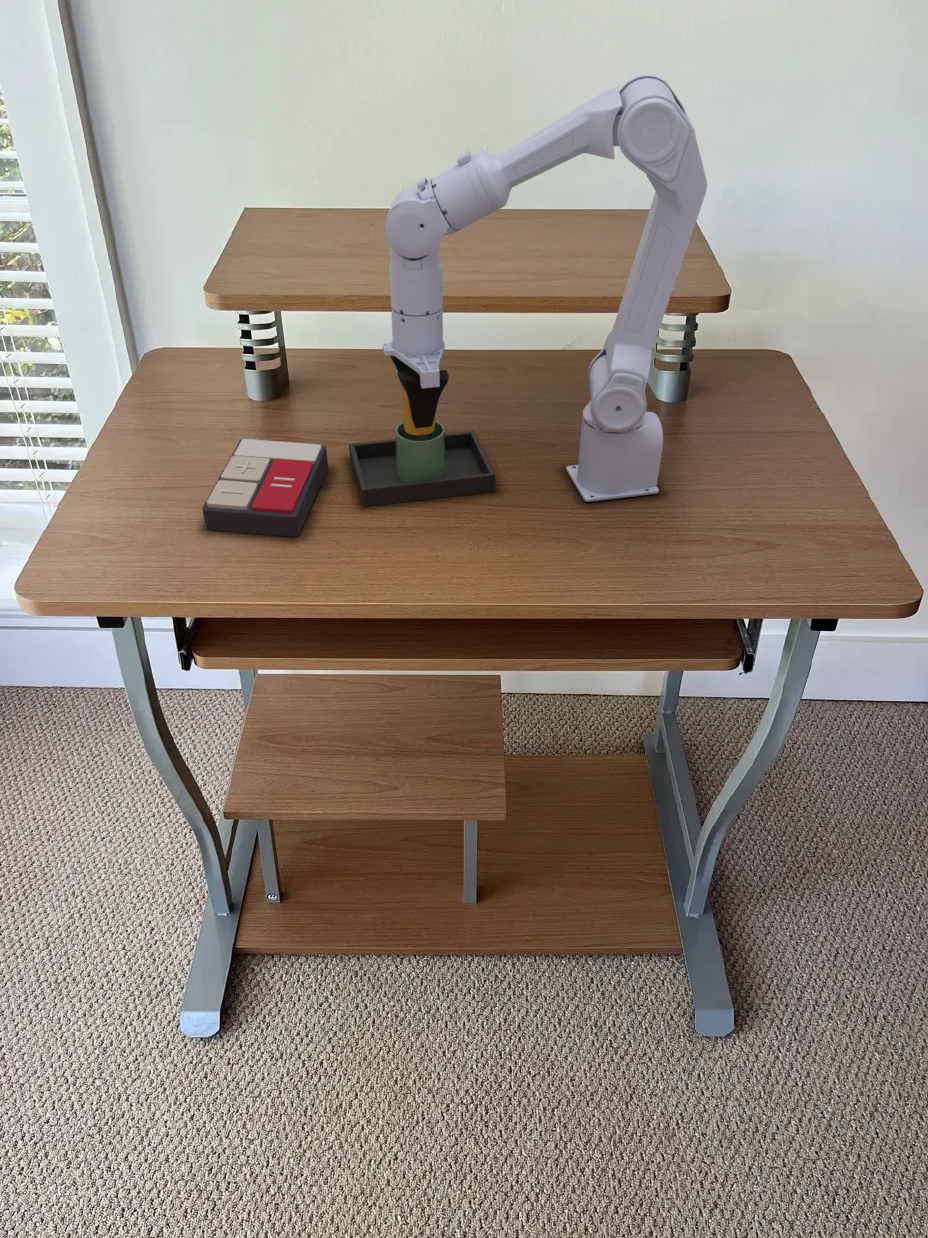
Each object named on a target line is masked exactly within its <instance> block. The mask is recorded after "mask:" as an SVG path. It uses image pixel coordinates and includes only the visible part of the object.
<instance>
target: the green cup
mask: <svg viewBox="0 0 928 1238" xmlns="http://www.w3.org/2000/svg"><path fill="white" fill-rule="evenodd" d="M445 434H446V430H445V427H444V425H443V424H442V423H440V422H439V421H438V420H435V429H434V431H433V432H432V433H430V434H427V435H412V434H409V433H407V432H406V431H405V430H404V420H403V421H401V422H400V423H399V424H397V425H396V427H395V429H394V439H395V442H396V467H397V475H398V477H399V479H401V480H402V481H403V482H414V481H423V480H432V479H441V478H443V476H444V474H445Z"/></svg>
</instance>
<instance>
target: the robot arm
mask: <svg viewBox="0 0 928 1238" xmlns="http://www.w3.org/2000/svg"><path fill="white" fill-rule="evenodd" d="M614 147H619V149H620V151H621V154H623V155H624V156H623V157H625V158H626V159H627V160H628V161H629V162H631V164H632V165H634V166H635V167H636V168H638V169H639V170H640V171H642V172H643V173H644V174H645V175H646V177H647V179H648V181H649V182H650V183H651V186H652V187H653V190H654V191H655V192H654V195H653V199H652V200H651V201H652V202H651V205H650V207H649V211H648V214H647V218H646V220H645V224H644V227H643V230H642V233H641V237H640V240H639V243H638V246H637V249H636V253H635V257H634V260H633V263H632V265H631V269H630V272H629V276H628V279H627V282H626V285H625V289H624V291H623V295H622V298H621V301H620V305H619V308H618V311H617V314H616V317H615V321H614V324H613V326H612V330H611V331H610V332H609V333H608V335H607V336H606V338H605V340H604V343H603V347H602V348H601V350H600V351H599V352H598V354H597V355H596V356H595V357H593V359H592V360H591V362H590V364H589V366H588V369H587V382H588V385H589V394H590V400H589V402H588V403H586V405H585V407H584V408H583V410H582V416H581V427H580V428H581V429H580V440H579V447H578V448H579V450H578V461H577V464H573V465H567V466H566V468H565V471H566V472H567V475H568V476H569V477H570V479H571V481H572V482H573V484H574V486H575V487H576V489H577V491H578V493H579V495H580V496H581V498H582V499H583V501H584V502H586V503H590V502H599V501H607V500H616V499H623V498H624V499H625V498H631V497H632V498H633V497H641V496H649V495H657V494H659V493H660V492H659V491H660V489H659V487H658V479H659V475H660V467H661V462H662V461H661V460H662V453H663V447H664V432H663V426H662V422H661V420H660V418H659V416H658V415H657V413H655V412H653V411H647V408H648V402H647V397H646V387H647V384H648V381H649V378H650V371H651V370H650V369H651V363H652V362H651V361H652V353H653V349H654V345H655V343H656V340H657V337H658V334H659V332H660V328H661V325H662V323H663V319H664V317H665V314H666V311H667V307H668V305H669V302H670V299H671V296H672V293H673V291H674V288H675V285H676V281H677V278H678V275H679V274H680V270H681V267H682V265H683V262H684V258H685V255H686V253H687V249H688V247H689V244H690V240H691V238H692V235H693V232H694V229H695V226H696V223H697V221H698V217H699V215H700V211H701V209H702V206H703V203H704V199H705V197H706V194H707V189H708V179H707V175H706V172H705V168H704V164H703V161H702V157H701V153H700V148H699V144H698V141H697V135H696V130H695V128H694V125H693V124H692V123H691V121H690V119H689V116H688V113H687V111H686V109H685V107H684V104H683V103H682V102H681V100H680V99H679V98H678V95H676V93H675V91H674V90H673V89H672V87H671V86H670V85H669V84H668V82H667V81H666V80H664V79H663V78H661V77H659V76H656V75H652V74H643V75H642V74H641V75H637V76H635V77H633V78H631V79H629V80H628V81H627V82H625V83H624V84H623V85H622V87H621V88H620V89H619V87H618V86H615V87H611V88H609V89H607V90H603V92H601V93H599V94H597V95H596V96H594V97H592V98H591V99H589V100H588V101H586V102H584V103H582V104H581V105H579V106H577V107H575V108H574V109H573V110H571V111H569V112H568V113H566V114H565V115H563V116H562V117H560V118H558V119H557V120H555V121H553V122H552V123H550V124H548V125H547V126H544V128H542V129H540V130H539V131H537V132H536V133H533V134H532V135H530V136H529V137H528V138H526V139H524V140H522V141H521V142H519V143H518V144H516V145H514V146H512V147H511V148H509V149H508V150H506V151H505V152H503V153H501V154H499V155H498V154H494V153H490V152H486V151H484V150H480V151H478V152H476V153H475V154H471V152H470V151H468V150H466V151H465V152H463V153H461V154H459V155H458V156H457V159H456V163H457V164H455V165H453V166H452V167H450V168H448V169H447V170H445V171H443V172H441V173H439V174H437V175H436V176H434V177H432V178H430V179H428V178H427V177H426V176H424V177H422V178H420V179H419V180H417V181H416V187H415V186H412V187H407V188H405V189H403V190H402V191H400V192H398V194H397V195H396V196H395V197H394V199H393V201H392V202H391V206H390V208H389V210H388V213H387V216H386V219H385V223H384V234H385V237H386V241H387V243H388V245H389V258H390V264H389V284H390V285H389V288H390V289H389V290H390V311H391V313H390V314H391V329H392V333H391V334H392V335H391V336H392V341H391V342H384V343H383V344H382V346H381V349H382V353H383V355H384V356H386V357H390V359H391V361H392V363H393V365H394V367H395V368H396V370H397V373H396V374H397V377H398V380H399V382H400V385H401V387H402V386H403V387H404V389H405V391H406V393H407V397H408V401H409V406H410V411H411V416H412V420H413V423H414V426H415V428H423V427H431V426H432V425H433V421H434V418H435V419H436V413H437V408H438V404H439V400H440V398H441V395H442V393H443V391H444V389H445V388H446V386H447V384H448V383H449V379H450V375H449V372H448V371H447V369H442V370H440V366H441V363H442V360H443V357H444V354H445V351H446V345H445V341H444V323H443V322H444V303H443V302H444V301H443V299H444V296H443V294H444V293H443V263H442V261H441V240H442V237H443V236H448V235H454V234H455V233H458V232H459V231H461V230H463V229H465V228H467V227H469V226H471V225H473V224H474V223H477V222H478V221H480V220H482V219H484V218H486V217H487V216H489V215H492V214H493V213H495V212H497V211H499V210H500V209H502V208H504V207H506V206H507V203H508V201H509V197H510V194H511V192H512V190H513V188H514V187H516V186H518V185H520V184H522V183H525V182H527V181H529V180H531V179H533V178H535V177H537V176H539V175H541V174H543V173H545V172H547V171H550V170H551V169H553V168H555V167H557V166H560V165H561V164H564V163H566V162H568V161H570V160H572V159H574V158H576V157H578V156H580V155H582V154H588V155H593V156H596V157H601V158H604V159H610V160H615V158H616V157H615V149H614Z"/></svg>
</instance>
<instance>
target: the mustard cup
mask: <svg viewBox="0 0 928 1238" xmlns="http://www.w3.org/2000/svg"><path fill="white" fill-rule="evenodd" d="M401 388H402V390H401V391H402V417H403V421H404V430H405V431H406V432H407V433H409V434H412V435H427V434H430V433H432V432H433V431H434V429H435V421H436V417H435V418H434V421H433V425H432V426H431V427H423V428H415V426H414V423H413V420H412V416H411V411H410V406H409V401H408V397H407V393H406V391H405V389H404V387H403V386H402V385H401Z"/></svg>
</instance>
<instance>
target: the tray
mask: <svg viewBox="0 0 928 1238" xmlns="http://www.w3.org/2000/svg"><path fill="white" fill-rule="evenodd" d="M348 451H349V460H350V465H351V468H352V472H353V475H354V479H355V483H356V484H355V485H356V487H357V491H358V495H359V498H360V502H361V505H362V507H363V508H366V507H375V506H383V505H392V504H401V503H410V502H417V501H418V502H419V501H427V500H434V499H435V500H436V499H443V498H452V497H453V498H454V497H461V496H462V497H463V496H470V495H478V494H488V493H495V492H496V474H495V472H494V469H493V467H492V464H491V463H490V461H489V459H488V457H487V454H486V453H485V451H484V449H483V446H482V444H481V443H480V440H479V438H478V436H477V434H476V432H475V430H470V431H469V430H468V431H467V430H466V431H460V432H449V433H448V432H447V433H445V474H444V476H443V478H441V479H432V480H423V481H414V482H403V481H402V480H401V479H399V477H398V475H397V467H396V442H395V438H391V439H384V440H383V439H381V440H371V441H362V442H353V443H352V442H351V443H348Z"/></svg>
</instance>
